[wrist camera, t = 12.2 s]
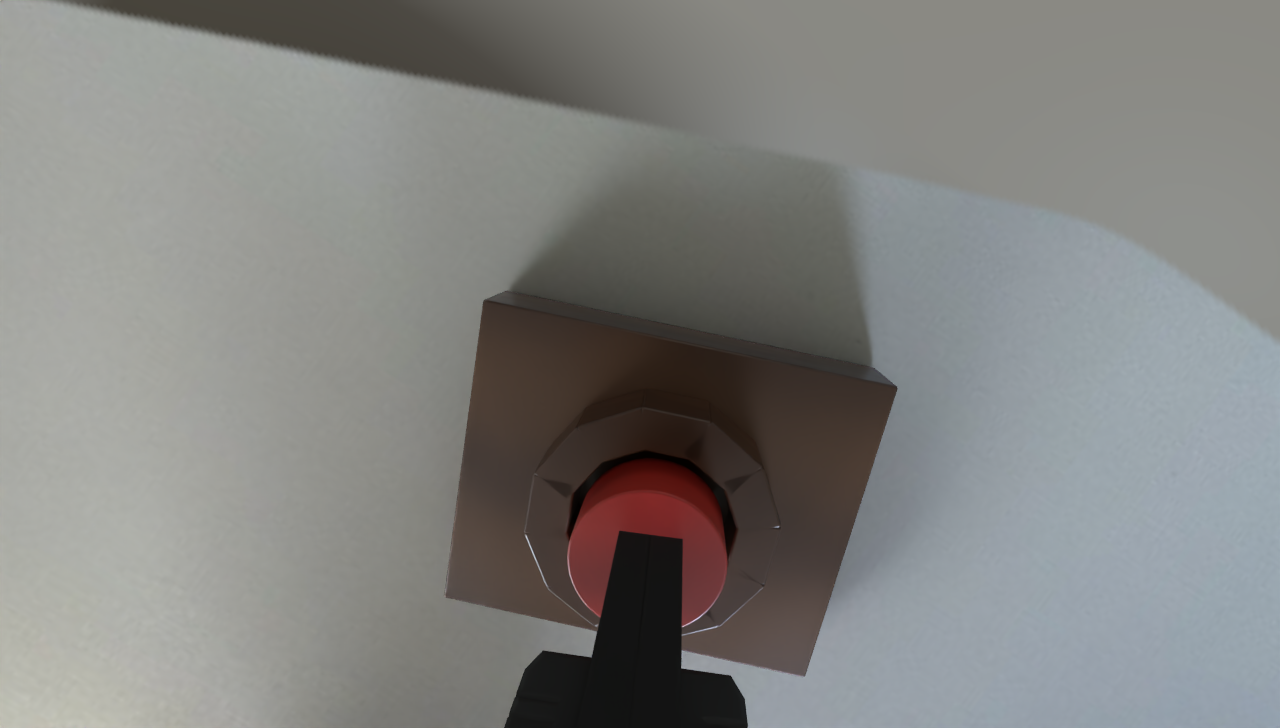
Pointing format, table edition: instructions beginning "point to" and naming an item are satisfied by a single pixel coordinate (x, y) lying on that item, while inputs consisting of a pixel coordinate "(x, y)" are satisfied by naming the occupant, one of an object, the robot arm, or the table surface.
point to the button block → (670, 430)
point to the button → (650, 530)
